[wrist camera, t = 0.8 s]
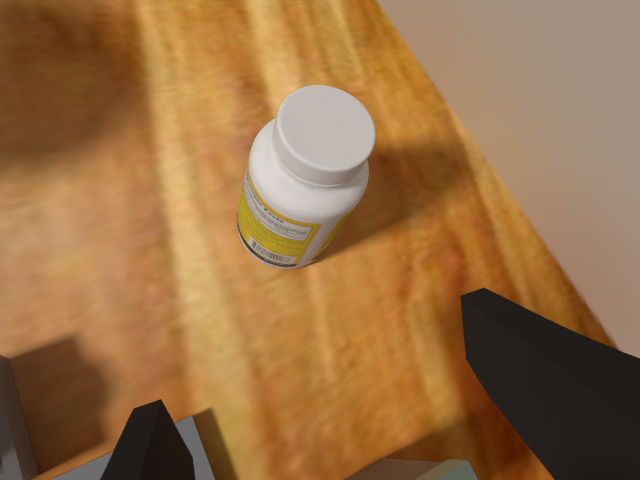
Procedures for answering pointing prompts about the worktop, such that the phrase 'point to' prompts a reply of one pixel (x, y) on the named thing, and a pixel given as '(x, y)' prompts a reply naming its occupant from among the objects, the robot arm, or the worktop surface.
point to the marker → (416, 470)
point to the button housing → (13, 432)
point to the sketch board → (90, 473)
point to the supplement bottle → (304, 176)
